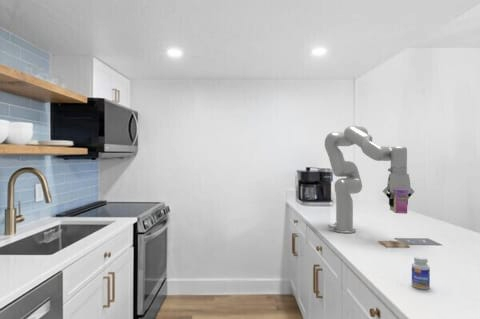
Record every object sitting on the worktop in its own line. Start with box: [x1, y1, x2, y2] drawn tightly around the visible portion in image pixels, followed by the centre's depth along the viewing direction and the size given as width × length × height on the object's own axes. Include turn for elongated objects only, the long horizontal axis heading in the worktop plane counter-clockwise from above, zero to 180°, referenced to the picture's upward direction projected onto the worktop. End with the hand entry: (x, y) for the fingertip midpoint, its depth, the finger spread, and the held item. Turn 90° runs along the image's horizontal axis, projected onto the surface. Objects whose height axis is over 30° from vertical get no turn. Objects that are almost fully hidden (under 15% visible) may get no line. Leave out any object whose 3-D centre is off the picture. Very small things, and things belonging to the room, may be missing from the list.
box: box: [389, 189, 409, 215], centre depth 173 cm, size 10×6×12 cm, turn 171°
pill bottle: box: [411, 255, 431, 290], centre depth 115 cm, size 5×5×10 cm
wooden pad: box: [378, 240, 411, 249], centre depth 172 cm, size 11×11×1 cm
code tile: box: [393, 237, 443, 246], centre depth 178 cm, size 18×14×1 cm
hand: (398, 206), depth 173 cm, fingers closed on box, 6 cm apart
